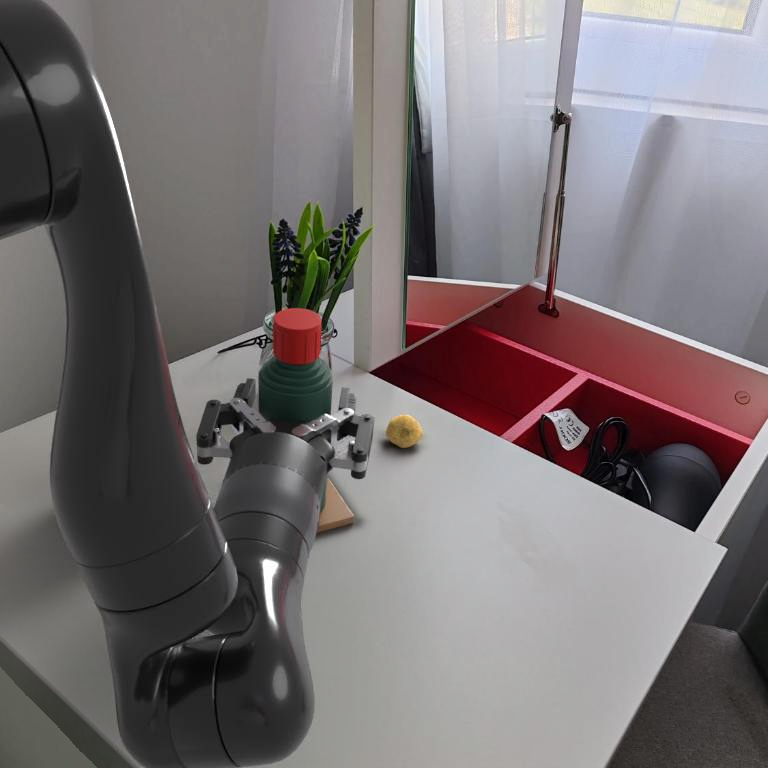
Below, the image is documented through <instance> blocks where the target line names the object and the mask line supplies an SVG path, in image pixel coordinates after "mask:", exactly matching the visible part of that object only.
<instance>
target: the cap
mask: <svg viewBox="0 0 768 768" xmlns="http://www.w3.org/2000/svg"><path fill="white" fill-rule="evenodd" d="M322 320H323V319H322V317H321V316H320V314H319V313H317V312H315V311H314V310H311V309H306V308H299V307H293V308H292V307H291V308H286V309H282V310H280V311H278V312H277V313H275V314H274V316H273V322H272V353H273V356H275V357H276V358H277V359H278V360H280V361H282V362H284V363H288V364H296V365H300V364H307V363H311V362H313V361H315V360H317V359H318V357H320V356H321V353H322V335H323V333H322V332H323V327H322V322H323V321H322Z"/></svg>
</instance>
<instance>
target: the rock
mask: <svg viewBox="0 0 768 768" xmlns="http://www.w3.org/2000/svg"><path fill="white" fill-rule="evenodd" d="M423 435H424V430H423V428H422V426H421V424H420V423H419V422H418V420H417V419H416V418H415V417H412V416H411V415H409V414H400V415H397V416H393V418H391V419H390V420H389V423H388V425H387V426H386V430H385V436H386V438H387V439H388V440H389V441H390V442H391V443H392V444H394V445H396V446H397V447H399V448H402V449H406V448H410V447H412V446H413V445H415V444H416V443H417V442H420V440H421V439H422V437H423Z"/></svg>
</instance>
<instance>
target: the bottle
mask: <svg viewBox="0 0 768 768" xmlns="http://www.w3.org/2000/svg"><path fill="white" fill-rule="evenodd" d="M333 385H334V375H333V373H332V371H331V368H330V366H329V364H328V363H327V362H325V361H324V360H323V359H322V357H320V356H319V357H318V359H317V360H315V361H313V362H311V363H307V364H300V365H296V364H288V363H284V362H282V361H280V360H278V359H277V358H276V357H275V356H274V355H273V356H271V357H270V358H269V359H267V360H266V361H265V362H264V363H263V365H262V366H261V368H260V370H259V373H258V412H259V413H260V414H261V415H262V416H263V417H264V418H265V419H266V420H270V418H276V419H282V420H286V421H307V423H309V422H311V421H313V420H314V419H316V418H318V417H320V416H322V415H323V414H328V415H332V401H333V400H332V399H333ZM327 477H328V474H327V475H326V478H325V484H324V490H323V496H322V502H321V508H320V513H321V512H322V510H323V509H324V507H325V504H326V489H327Z"/></svg>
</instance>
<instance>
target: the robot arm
mask: <svg viewBox="0 0 768 768" xmlns="http://www.w3.org/2000/svg"><path fill="white" fill-rule="evenodd" d="M103 91H104V90H103V89H102V86H101V83H100V80H99V77H98V75H97V73H96V71H95V68H94V67H93V65H92V62H91V60H90V58H89V55H88V54H87V53H86V50H85V49H84V47H83V45H82V44H81V42H80V40H79V39H78V37H77V36H76V34H75V32H74V30H72V27H70V25H69V24H68V23H67V22H66V21H65V20H64V19H63V17H62V16H61V15H60V14H59V13H58V11H56V10H55V9H54V8H53V7H52V6H51V5H50V4H48V3H47V2H45V1H44V0H0V241H1V240H4V239H7V238H10V237H13V236H15V235H19V234H22V233H25V232H28V231H30V230H34V229H36V228H37V227H42V226H44V229H45V231H46V234H47V236H48V239H49V242H50V245H51V248H52V250H53V253H54V257H55V260H56V264H57V267H58V272H59V276H60V281H61V285H62V293H63V300H64V317H65V319H64V320H65V323H64V343H63V345H64V347H63V351H64V352H63V360H62V366H61V367H62V369H61V375H60V376H61V377H60V383H59V391H58V397H57V398H58V399H57V404H56V411H55V417H54V423H53V431H52V438H51V446H50V453H49V489H50V496H51V503H52V508H53V511H54V515H55V519H56V522H57V525H58V528H59V530H60V533H61V536H62V538H63V541H64V543H65V545H66V547H67V550H68V551H69V554H70V555H71V558H72V560H73V561H74V564H75V566H76V568H77V570H78V572H79V574H80V576H81V578H82V580H83V582H84V584H85V587H86V588H87V590H88V593H89V595H90V597H91V599H92V600H93V602H94V604H95V606H96V608H97V610H98V613H99V614H100V616H101V620H102V623H103V629H104V634H105V639H106V646H107V654H108V659H109V665H110V670H111V676H112V677H111V678H112V684H113V691H114V692H113V693H114V701H115V702H114V703H115V712H116V720H117V728H118V732H119V736H120V739H121V742H122V744H123V747H124V748H125V750H126V751H127V753H128V754H129V755H130V756H131V757H132V759H133V760H134V761H135V762H136V763H138V764H139V765H140V766H141V767H143V768H249V767H259V766H260V767H261V766H265V765H273V764H275V763H279V762H282V761H284V760H285V759H287V758H289V757H290V756H291V755H292V754H293V753H295V752H296V751H297V749H298V748H299V747H300V746H301V744H302V743H303V742H304V740H305V739H306V737H307V735H308V733H309V732H310V729H311V726H312V724H313V721H314V717H315V711H316V710H315V708H316V699H315V698H316V697H315V696H316V695H315V688H314V680H313V677H312V672H311V671H312V670H311V667H310V662H309V658H308V653H307V649H306V648H307V647H306V643H305V637H304V627H303V625H304V624H303V612H302V611H303V610H302V609H303V608H302V598H303V597H302V596H303V590H304V585H305V579H306V574H307V568H308V561H309V557H310V554H311V551H312V549H313V547H314V543H315V539H316V536H317V530H318V527H319V514H320V508H321V502H322V496H323V490H324V484H325V478H326V475H327V476H328V474H329V473H330V472H331V471H332V470H333V469H334V468H335V469H343V470H350V476H351V478H353V479H355V480H362V479H365V477H366V475H367V470H368V465H369V461H370V454H371V450H372V445H373V440H374V439H373V437H374V429H375V427H374V425H375V417H374V416H373V415H372V414H371V413H369V414H368V413H364V414H361V416H360V415H358V414H356V405H357V395H356V394H355V393H352V392H350V387H341V389H340V390H341V391H340V396H339V403H338V409H337V411H336V412H333V413H331V415H328V414H323V415H322V416H320V417H318V418H316V419H314V420H313V421H311V422H309V423H307V421H286V420H282V419H276V418H270V420H266V419H265V418H264V417H263V416H262V415H261V414H260V413H259V409H257V408H256V407H255V406H254V404H255V400H256V394H257V393H256V385H257V384H256V383H257V381H256V378H248V377H247V378H246V380H245V382H241V383H239V384H238V385H237V387H236V390H235V392H234V395H233V397H232V398H230V400H229V401H228V402H226V403H222V402H221V401H220V400H219V399H210V400H208V401H207V402H206V404H205V407H204V410H203V414H202V416H201V419H200V423H199V426H198V429H197V432H196V436H195V439H196V459H197V460H195V456H194V454H193V451H192V448H191V445H190V442H189V440H188V437H187V434H186V430H185V426H184V423H183V420H182V415H181V414H180V413H181V412H180V409H179V405H178V402H177V397H176V393H175V389H174V385H173V380H172V376H171V371H170V366H169V362H168V357H167V353H166V346H165V344H164V343H165V342H164V337H163V333H162V327H161V323H160V319H159V313H158V307H157V302H156V297H155V292H154V288H153V283H152V279H151V274H150V270H149V265H148V262H147V258H146V253H145V249H144V244H143V241H142V237H141V231H140V226H139V222H138V218H137V213H136V207H135V205H134V200H133V196H132V192H131V188H130V182H129V178H128V174H127V169H126V166H125V160H124V157H123V153H122V150H121V144H120V142H119V138H118V134H117V131H116V129H115V125H114V122H113V117H112V115H111V112H110V107H109V105H108V101H107V98H106V96H105V94H104V92H103ZM223 426H229V427H230V428H231V429H232V430H233V431H234V433H235V434H236V435H235V436H233V437H232V438H231V439H230V441H228V440H226V439H225V436H224V434H222V433H221V431H222V428H223ZM351 438H355V439H354V440H349V439H351ZM348 440H349V441H348ZM346 441H348V445H346V446H345V447H344V448H343V449H342V450H340V451H336V450H337V448H338V447H339V445H341V444H343V443H344V442H346ZM214 458H226V459H227V458H228V459H229V463H228V466H227V469H226V472H225V474H224V476H223V479H222V483H221V485H220V487H219V488H220V489H219V492H218V495H217V497H216V500H215V503H214V505H213V503H212V500H211V497H210V496H209V493H208V491H207V488H206V486H205V482H204V481H203V477H202V474H201V472H200V470H199V467H198V465H197V463H198V464H199V465H202V466H204V465H209V464H212V462H213V460H214ZM196 461H197V463H196ZM205 631H207V632H209V633H211V634H213V635H205V636H200V637H197V636H199V635H200V634H202V633H204V632H205Z"/></svg>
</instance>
